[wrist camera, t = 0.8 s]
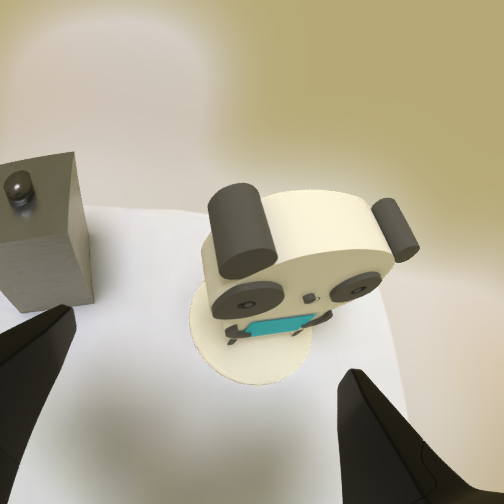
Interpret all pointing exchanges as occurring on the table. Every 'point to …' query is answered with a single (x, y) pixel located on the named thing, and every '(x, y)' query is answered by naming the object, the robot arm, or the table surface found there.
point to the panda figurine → (286, 273)
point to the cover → (43, 234)
